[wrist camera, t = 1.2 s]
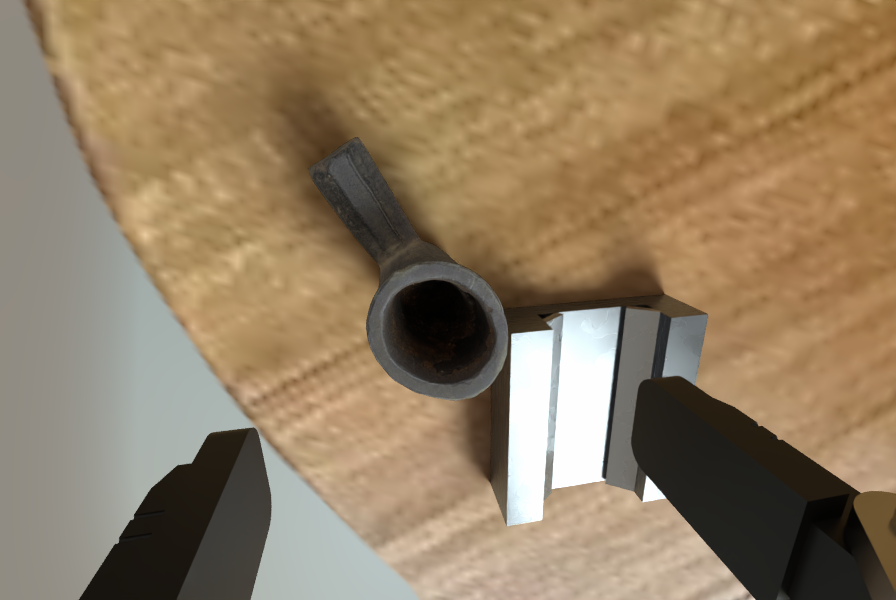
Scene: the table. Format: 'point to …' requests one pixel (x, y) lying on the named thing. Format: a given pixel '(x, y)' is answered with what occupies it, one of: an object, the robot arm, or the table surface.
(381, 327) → the pipe
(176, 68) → the table surface
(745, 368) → the table surface
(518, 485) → the v block
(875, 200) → the table surface
